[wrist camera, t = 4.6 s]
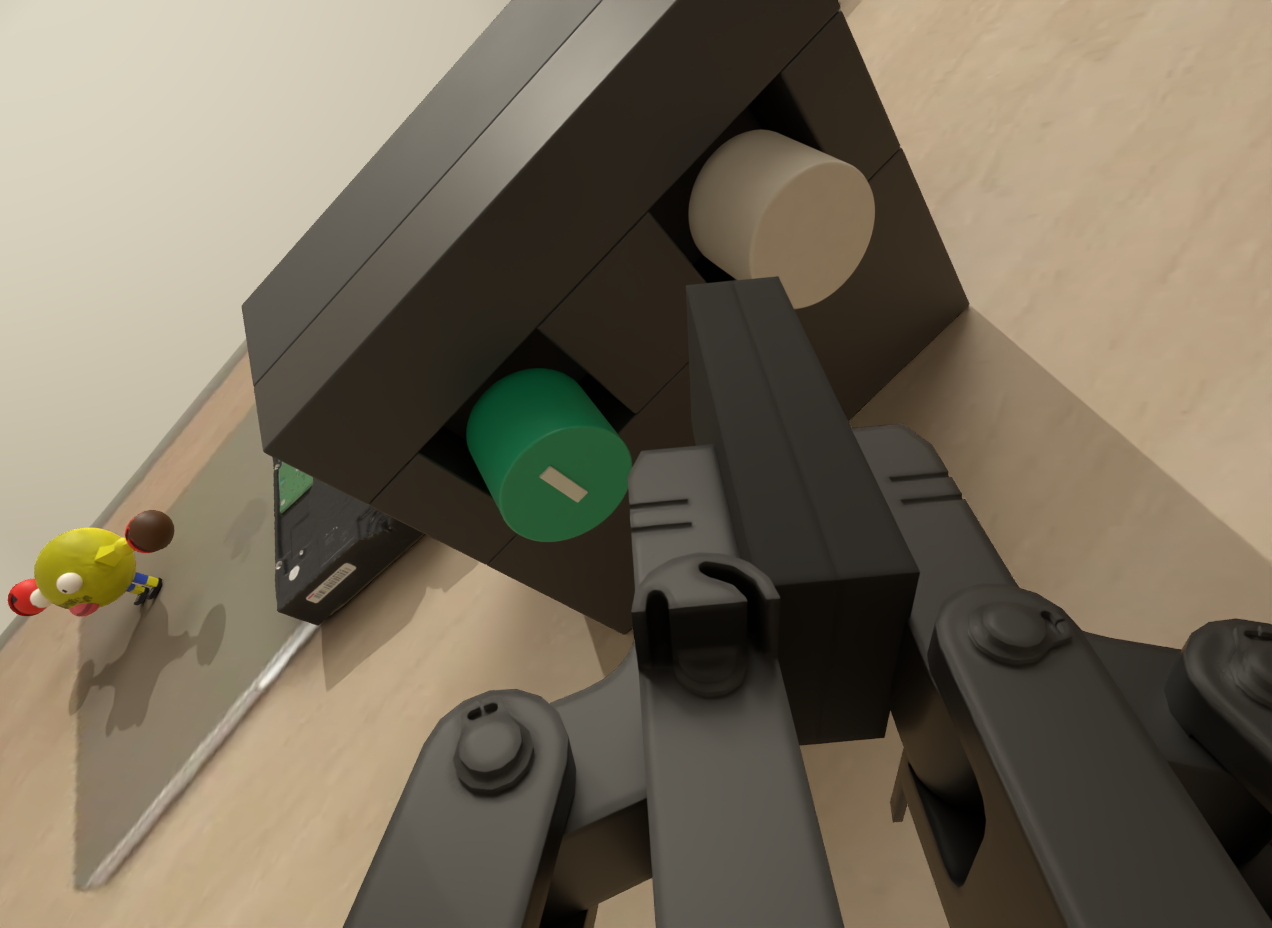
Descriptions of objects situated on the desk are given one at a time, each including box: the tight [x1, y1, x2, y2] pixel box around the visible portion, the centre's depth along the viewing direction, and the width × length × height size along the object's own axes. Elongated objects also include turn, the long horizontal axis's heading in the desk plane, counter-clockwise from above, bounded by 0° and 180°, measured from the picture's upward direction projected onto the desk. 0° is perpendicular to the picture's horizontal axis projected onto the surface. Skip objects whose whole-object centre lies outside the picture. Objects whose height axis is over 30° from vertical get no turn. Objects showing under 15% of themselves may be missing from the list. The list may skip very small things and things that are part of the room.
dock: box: [242, 0, 969, 634], centre depth 23 cm, size 8×16×14 cm, turn 122°
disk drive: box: [273, 457, 424, 625], centre depth 40 cm, size 10×3×15 cm
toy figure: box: [8, 510, 174, 616], centre depth 49 cm, size 18×6×7 cm, turn 92°
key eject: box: [688, 130, 875, 309], centre depth 18 cm, size 3×3×3 cm
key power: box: [466, 368, 632, 542], centre depth 19 cm, size 3×3×3 cm
